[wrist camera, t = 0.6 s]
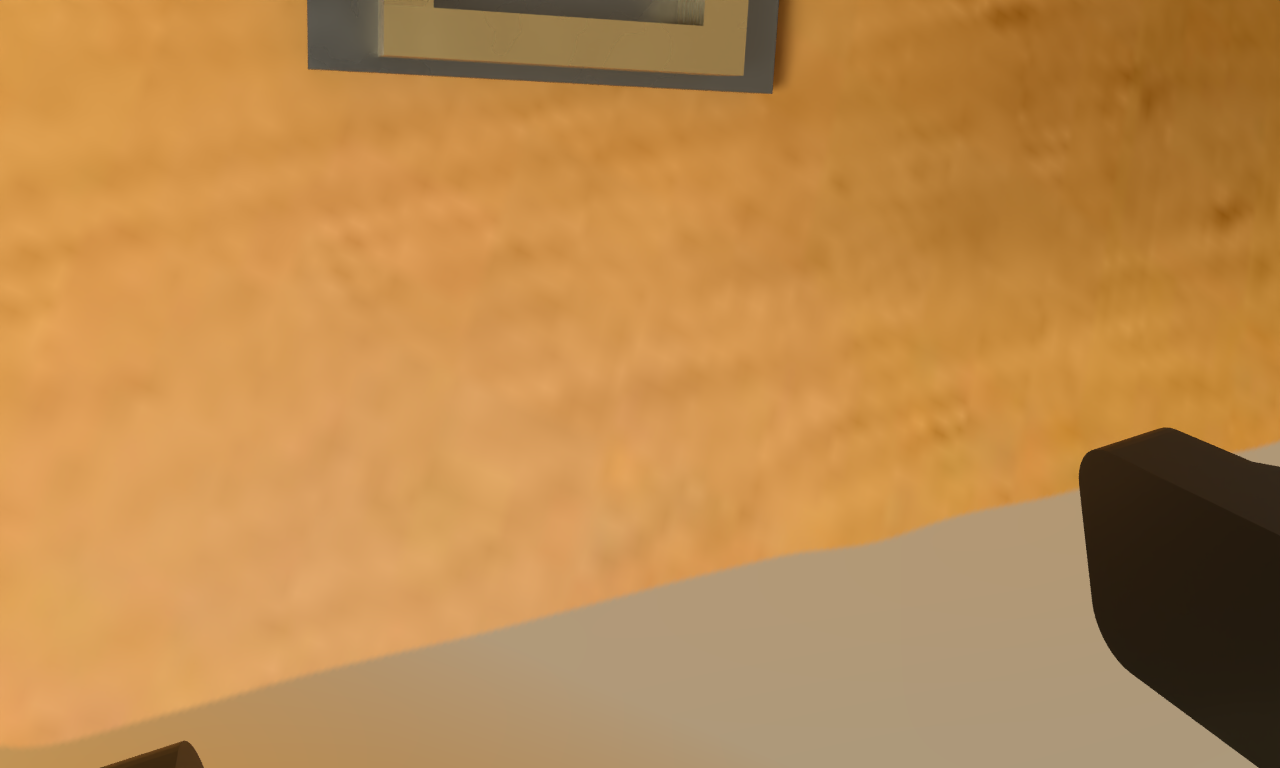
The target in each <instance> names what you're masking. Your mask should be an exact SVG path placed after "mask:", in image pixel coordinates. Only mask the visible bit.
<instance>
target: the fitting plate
mask: <svg viewBox="0 0 1280 768" xmlns="http://www.w3.org/2000/svg"><path fill="white" fill-rule="evenodd" d="M778 7H779V0H307V18H308V69H311V70H330V71H348V72H367V73H386V74H404V75H423V76H442V77H460V78H479V79H497V80H516V81H535V82H553V83H572V84H591V85H609V86H628V87H647V88H665V89H684V90H703V91H721V92H740V93H763V94H772V90H773V76H774V63H775V49H776V35H777V21H778Z"/></svg>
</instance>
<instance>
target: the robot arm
mask: <svg viewBox="0 0 1280 768" xmlns="http://www.w3.org/2000/svg"><path fill="white" fill-rule="evenodd" d="M1079 487H1080V496H1081V505H1082V514H1083V523H1084V532H1085V541H1086V550H1087V559H1088V568H1089V577H1090V586H1091V595H1092V604H1093V609H1094V614H1095V618H1096V621H1097V624H1098V627H1099V629H1100V632H1101V634H1102V636H1103V638H1104V640H1105V642H1106V643H1107V646H1108V647H1109V649H1110V650H1111V652H1112V653H1113V655H1114V656H1115V657H1116V659H1117V660H1118V661H1119V662H1120V663H1121V664H1122V666H1123V667H1124V668H1125V669H1127V670H1128V671H1129V672H1130V673H1131V674H1133V675H1134V676H1135V677H1137V678H1138V679H1140V680H1141V681H1142V682H1144V683H1145V684H1146V685H1148V686H1149V687H1150V688H1152V689H1153V690H1154V691H1156V692H1157V693H1158V694H1160V695H1161V696H1162V697H1164V698H1165V699H1167V700H1168V701H1169V702H1171V703H1172V704H1173V705H1175V706H1176V707H1177V708H1179V709H1180V710H1181V711H1183V712H1184V713H1186V714H1187V715H1188V716H1190V717H1191V718H1192V719H1194V720H1195V721H1196V722H1198V723H1199V724H1200V725H1202V726H1203V727H1205V728H1206V729H1207V730H1209V731H1210V732H1211V733H1213V734H1214V735H1215V736H1217V737H1218V738H1219V739H1221V740H1222V741H1223V742H1225V743H1226V744H1227V745H1229V746H1230V747H1232V748H1233V749H1234V750H1236V751H1237V752H1238V753H1240V754H1241V755H1242V756H1244V757H1245V758H1247V759H1248V760H1249V761H1250V762H1252V763H1253V764H1254V765H1256V766H1257V767H1259V768H1280V467H1278V466H1272V465H1266V464H1261V463H1256V462H1251V461H1249V460H1246V459H1244V458H1242V457H1240V456H1237V455H1235V454H1232V453H1230V452H1228V451H1225V450H1223V449H1221V448H1218V447H1216V446H1214V445H1211V444H1209V443H1206V442H1204V441H1202V440H1199V439H1197V438H1195V437H1192V436H1190V435H1188V434H1185V433H1183V432H1180V431H1178V430H1175V429H1172V428H1160V429H1156V430H1153V431H1150V432H1147V433H1144V434H1141V435H1138V436H1135V437H1132V438H1128V439H1125V440H1122V441H1119V442H1116V443H1113V444H1110V445H1107V446H1104V447H1101V448H1097V449H1094V450H1091V451H1090V452H1088V453H1087V454H1086V455H1085V456H1084V458H1083V460H1082V462H1081V465H1080V470H1079ZM101 768H204V767H203V765H202V762H201V760H200V758H199V756H198V754H197V752H196V751H195V749H194V748H193V746H192V745H191V744H190V743H189V742H187V741H182V742H179V743H176V744H173V745H169V746H166V747H163V748H160V749H157V750H154V751H151V752H148V753H145V754H141V755H138V756H135V757H132V758H129V759H126V760H123V761H120V762H117V763H114V764H110V765H107V766H104V767H101Z"/></svg>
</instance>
